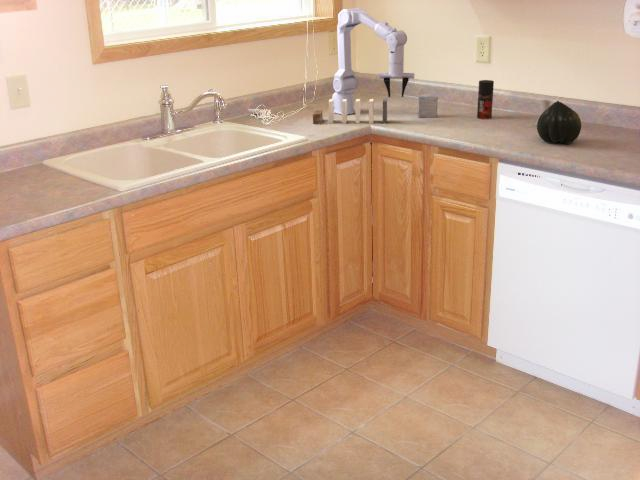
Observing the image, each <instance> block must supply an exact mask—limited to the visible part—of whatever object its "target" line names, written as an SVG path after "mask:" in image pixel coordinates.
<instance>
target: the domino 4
mask: <svg viewBox="0 0 640 480" xmlns="http://www.w3.org/2000/svg"><path fill="white" fill-rule="evenodd" d="M374 103H375V102H374V98H370V99H368V124H374V121H375V119H374V112H375V111H374V106H375V104H374Z"/></svg>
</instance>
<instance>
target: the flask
mask: <svg viewBox="0 0 640 480" xmlns="http://www.w3.org/2000/svg"><path fill="white" fill-rule="evenodd" d="M551 102H552V100H549V99H544V100H542V102H541V103H542V106H541V109H540V113H539V115H538V118H537V119H536V121H535V124H534V126H535V127H536V128H537V123H538V119H539V117H540V115H541V114H542V113H543V112H544V111H545V110H546V109H548V108H549V107H550V106H551Z"/></svg>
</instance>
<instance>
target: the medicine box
mask: <svg viewBox="0 0 640 480" xmlns="http://www.w3.org/2000/svg"><path fill="white" fill-rule="evenodd" d="M438 99H439V97H438V95H437V94H423V95H422V94H419V95H418V99H417V101H418V105H417V107H418V108H417V110H418V113H417V115H418V117H417V118H438V103H439V101H438Z"/></svg>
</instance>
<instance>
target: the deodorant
mask: <svg viewBox="0 0 640 480" xmlns="http://www.w3.org/2000/svg"><path fill="white" fill-rule="evenodd" d="M494 82H495V81H494V80H492V79H491V80H490V79H489V80H488V79H481V80H478V92H477V93H478V94H477V112H476V119H479V120H490V119H492V116H493V99H494Z"/></svg>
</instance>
